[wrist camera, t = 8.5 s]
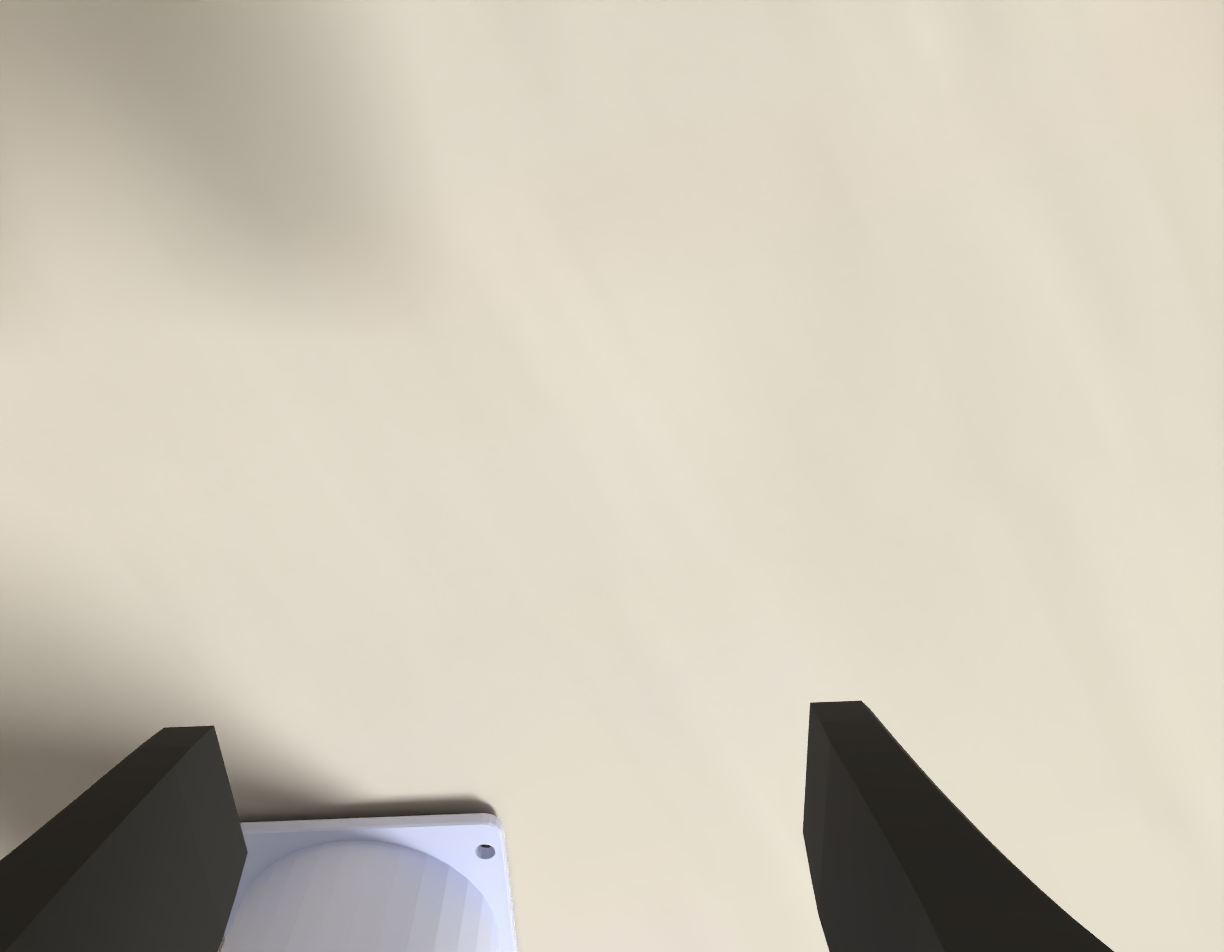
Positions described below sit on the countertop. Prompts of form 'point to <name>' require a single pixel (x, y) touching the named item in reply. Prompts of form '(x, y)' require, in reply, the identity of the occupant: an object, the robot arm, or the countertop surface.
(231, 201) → the countertop surface
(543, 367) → the countertop surface
